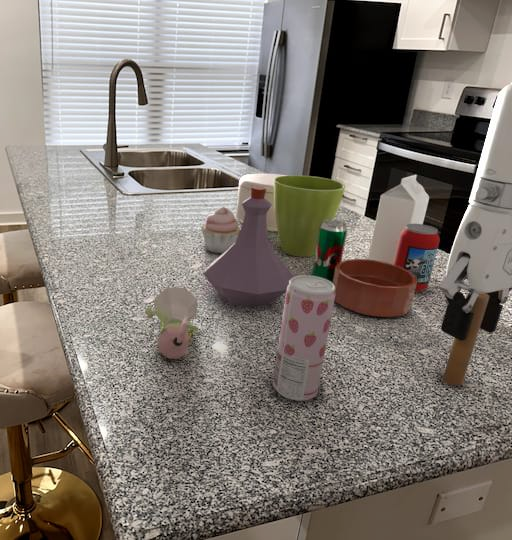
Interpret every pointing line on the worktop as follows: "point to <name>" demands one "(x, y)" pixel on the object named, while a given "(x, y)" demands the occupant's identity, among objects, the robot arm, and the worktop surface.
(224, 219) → the cupcake
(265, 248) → the flask
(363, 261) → the bowl
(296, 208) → the flower pot
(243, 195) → the container
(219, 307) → the worktop surface
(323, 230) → the soda can
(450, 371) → the stick
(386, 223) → the milk carton
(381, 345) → the worktop surface
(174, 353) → the figurine
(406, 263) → the beverage can
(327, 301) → the beverage can
